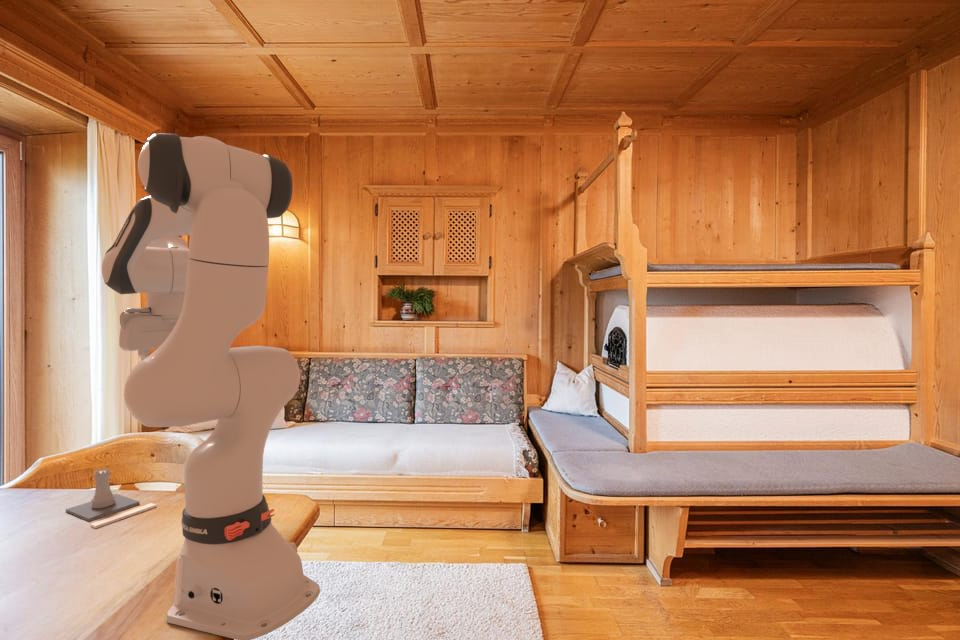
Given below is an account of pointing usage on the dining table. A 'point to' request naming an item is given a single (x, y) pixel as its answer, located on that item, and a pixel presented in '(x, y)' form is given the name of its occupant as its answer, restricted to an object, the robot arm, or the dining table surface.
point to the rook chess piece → (102, 490)
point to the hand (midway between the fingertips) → (171, 366)
